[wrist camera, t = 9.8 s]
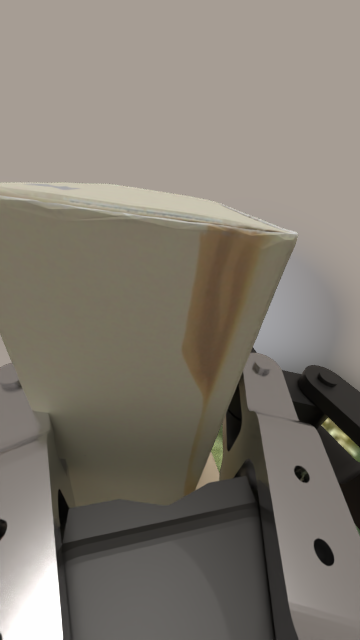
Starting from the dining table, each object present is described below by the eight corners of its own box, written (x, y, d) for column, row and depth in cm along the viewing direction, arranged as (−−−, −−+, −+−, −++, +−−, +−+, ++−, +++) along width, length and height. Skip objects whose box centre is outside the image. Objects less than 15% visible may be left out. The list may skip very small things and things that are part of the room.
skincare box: (181, 534, 9) (337, 237, 2) (77, 532, 9) (-124, 171, 2) (180, 401, 14) (224, 196, 8) (115, 397, 14) (100, 177, 7)
